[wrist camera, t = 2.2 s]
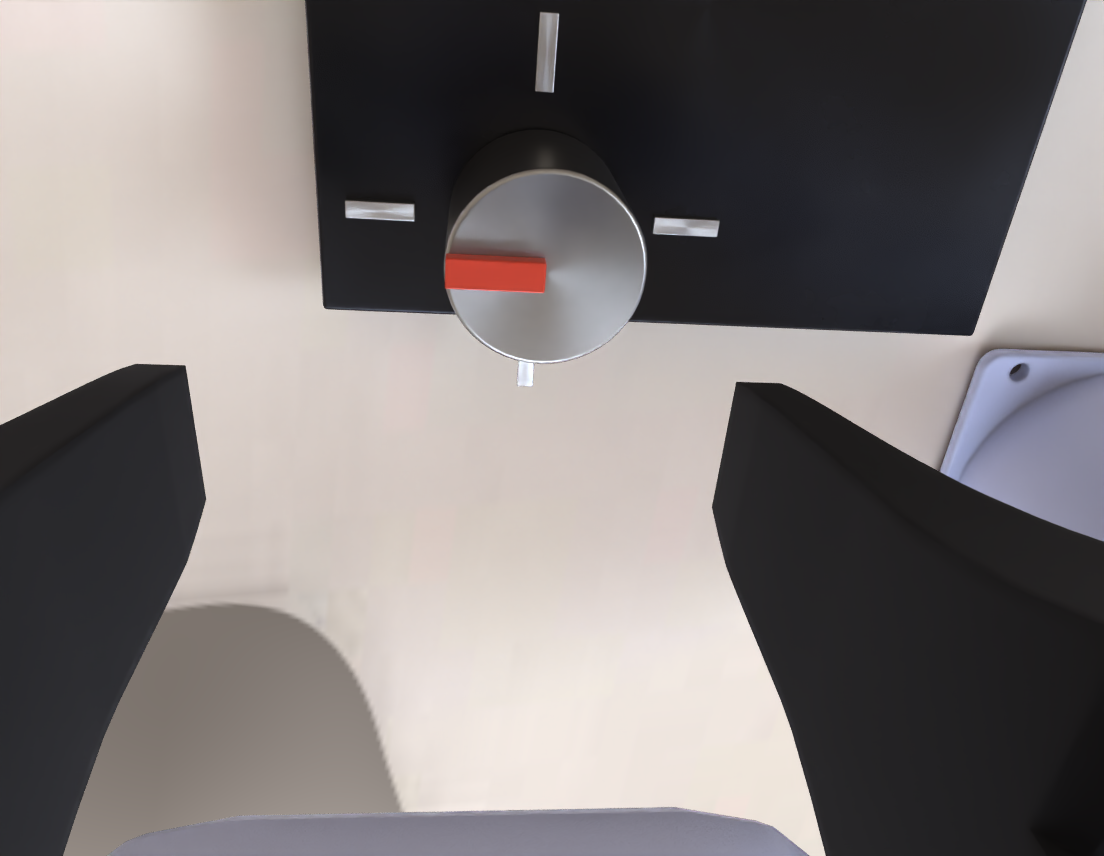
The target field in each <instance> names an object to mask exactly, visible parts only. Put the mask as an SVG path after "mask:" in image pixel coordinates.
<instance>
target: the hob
mask: <svg viewBox="0 0 1104 856" xmlns="http://www.w3.org/2000/svg"><path fill="white" fill-rule="evenodd" d="M1086 1H1087V0H305V8H306V25H307V42H308V59H309V76H310V93H311V110H312V127H313V144H314V161H315V177H316V194H317V211H318V228H319V245H320V262H321V279H322V296H323V306H324V308H325V309H335V310H359V311H384V312H408V313H432V314H456V313H455V311H454V309H453V307H452V305H451V303H450V300H449V297H448V294H447V291H446V289H445V281H444V254H445V245H446V235H447V226H448V216H449V207H450V201H451V196H452V192H453V189H454V186H455V184H456V181H457V179H458V177H459V175H460V173H461V171H462V170H463V169H464V167H465V166H466V164H467V163H468V162H469V160H470V159H471V158H472V157H473V156H474V155H475V154H476V153H477V152H478V151H480V150H481V149H482V148H483V147H484V146H486V145H487V144H489V143H491V142H492V141H494V140H496V139H498V138H500V137H502V136H505V135H507V134H510V133H514V132H517V131H524V130H549V131H555V132H559V133H562V134H566V135H568V136H570V137H573V138H575V139H577V140H578V141H580V142H582V143H583V144H585V145H586V146H588V147H589V148H590V149H591V150H593V151H594V152H595V153H596V154H597V155H598V156H599V157H600V158H601V159H602V160H603V162H604V163H605V165H606V166H607V167H608V169H609V170H610V172H611V174H612V176H613V178H614V179H615V181H616V183H617V185H618V186H619V188H620V190H621V192H622V194H623V195H624V197H625V199H626V201H627V203H628V204H629V206H630V208H631V210H632V212H633V213H634V215H635V217H636V219H637V221H638V223H639V225H640V227H641V230H642V233H643V236H644V239H645V244H646V249H647V260H648V266H647V278H646V283H645V287H644V291H643V294H642V297H641V299H640V302H639V304H638V306H637V308H636V310H635V312H634V313H633V315H632V316H631V318H630V319H629V321H628V322H649V323H673V324H697V325H721V326H745V327H769V328H794V329H818V330H842V331H866V332H890V333H914V334H938V335H962V336H971V335H972V334H973V333H974V330H975V327H976V324H977V321H978V318H979V315H980V312H981V309H982V306H983V303H984V301H985V298H986V295H987V292H988V289H989V286H990V283H991V280H992V277H993V274H994V271H995V268H996V265H997V262H998V259H999V257H1000V254H1001V251H1002V248H1003V245H1004V242H1005V239H1006V236H1007V233H1008V230H1009V227H1010V224H1011V221H1012V218H1013V215H1014V212H1015V210H1016V207H1017V204H1018V201H1019V198H1020V195H1021V192H1022V189H1023V186H1024V183H1025V180H1026V177H1027V174H1028V171H1029V168H1030V166H1031V163H1032V160H1033V157H1034V154H1035V151H1036V148H1037V145H1038V142H1039V139H1040V136H1041V133H1042V130H1043V127H1044V124H1045V121H1046V119H1047V116H1048V113H1049V110H1050V107H1051V104H1052V101H1053V98H1054V95H1055V92H1056V89H1057V86H1058V83H1059V80H1060V77H1061V74H1062V72H1063V69H1064V66H1065V63H1066V60H1067V57H1068V54H1069V51H1070V48H1071V45H1072V42H1073V39H1074V36H1075V33H1076V30H1077V28H1078V25H1079V22H1080V19H1081V16H1082V13H1083V10H1084V7H1085V4H1086ZM533 374H534V363H527V362H523V361H518V372H517V386H533Z"/></svg>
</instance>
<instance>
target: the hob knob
mask: <svg viewBox="0 0 1104 856" xmlns="http://www.w3.org/2000/svg"><path fill="white" fill-rule="evenodd" d="M647 266H648V260H647V249H646V244H645V239H644V236H643V233H642V230H641V227H640V225H639V223H638V221H637V219H636V217H635V215H634V213H633V212H632V210H631V208H630V206H629V204H628V203H627V201H626V199H625V197H624V195H623V194H622V192H621V190H620V188H619V186H618V185H617V183H616V181H615V179H614V178H613V176H612V174H611V172H610V170H609V169H608V167H607V166H606V165H605V163H604V162H603V160H602V159H601V158H600V157H599V156H598V155H597V154H596V153H595V152H594V151H593V150H591V149H590V148H589V147H588V146H586V145H585V144H583V143H582V142H580V141H578V140H577V139H575V138H573V137H570V136H568V135H566V134H562V133H559V132H555V131H549V130H524V131H517V132H514V133H510V134H507V135H505V136H502V137H500V138H498V139H496V140H494V141H492V142H491V143H489V144H487V145H486V146H484V147H483V148H482V149H481V150H480V151H478V152H477V153H476V154H475V155H474V156H473V157H472V158H471V159H470V160H469V162H468V163H467V164H466V166H465V167H464V169H463V170H462V171H461V173H460V175H459V177H458V179H457V181H456V184H455V186H454V189H453V192H452V196H451V201H450V207H449V216H448V226H447V235H446V245H445V254H444V281H445V289H446V291H447V294H448V297H449V300H450V303H451V305H452V307H453V309H454V311H455V313H456V315H457V317H458V318H459V320H460V321H461V323H462V324H463V325H464V327H465V328H466V329H467V330H468V331H469V332H470V333H471V334H472V335H473V336H474V337H475V338H476V339H477V340H478V341H480V342H481V343H482V344H484V345H485V346H487V347H488V348H490V349H491V350H493V351H495V352H497V353H499V354H501V355H503V356H506V357H509V358H511V359H514V360H518V361H523V362H527V363H537V364H550V363H559V362H565V361H569V360H573V359H577V358H579V357H582V356H584V355H587V354H589V353H591V352H593V351H595V350H596V349H598V348H600V347H601V346H603V345H604V344H606V343H607V342H608V341H610V340H611V339H612V338H613V337H614V336H615V335H616V334H617V333H619V332H620V330H621V329H622V328H623V327H624V326H625V325H626V323H627V322H628V321H629V319H630V318H631V316H632V315H633V313H634V312H635V310H636V308H637V306H638V304H639V302H640V299H641V297H642V294H643V291H644V287H645V283H646V278H647Z"/></svg>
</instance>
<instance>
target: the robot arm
mask: <svg viewBox="0 0 1104 856" xmlns="http://www.w3.org/2000/svg"><path fill="white" fill-rule="evenodd" d="M1017 364H1021V367H1020V369H1019V370H1018V371H1017V372H1015V373H1014V374H1011V375H1010V371H1011V370H1012V368H1013V367H1014V366H1016V365H1017ZM205 501H206V496H205V489H204V483H203V476H202V470H201V463H200V457H199V450H198V444H197V437H196V431H195V424H194V418H193V411H192V405H191V399H190V392H189V386H188V379H187V373H186V366H185V365H151V364H134V365H131V366H128V367H125V368H122V369H119V370H117V371H114V372H112V373H109V374H107V375H105V376H102V377H100V378H98V379H96V380H94V381H91V382H89V383H87V384H85V385H83V386H81V387H79V388H77V389H75V390H73V391H71V392H68V393H66V394H64V395H62V396H60V397H58V398H56V399H54V400H52V401H50V402H48V403H46V404H44V405H42V406H39V407H37V408H35V409H33V410H31V411H29V412H27V413H25V414H23V415H21V416H19V417H17V418H15V419H13V420H10V421H8V422H6V423H4V424H2V425H0V856H63V853H64V850H65V847H66V844H67V841H68V838H69V835H70V832H71V829H72V826H73V823H74V820H75V816H76V814H77V810H78V808H79V805H80V802H81V800H82V797H83V794H84V791H85V788H86V785H87V783H88V780H89V777H90V774H91V771H92V769H93V766H94V763H95V760H96V757H97V754H98V752H99V749H100V746H101V743H102V740H103V738H104V735H105V733H106V730H107V728H108V726H109V724H110V721H111V719H112V717H113V714H114V712H115V710H116V708H117V705H118V703H119V701H120V699H121V697H122V695H123V693H124V691H125V689H126V687H127V685H128V683H129V680H130V679H131V677H132V675H133V673H134V670H135V668H136V666H137V664H138V662H139V660H140V658H141V656H142V654H143V652H144V650H145V648H146V646H147V644H148V642H149V640H150V638H151V636H152V633H153V632H154V630H155V628H156V626H157V624H158V622H159V620H160V618H161V616H162V614H163V612H164V610H165V607H166V605H167V603H168V601H169V599H170V597H171V595H172V593H173V591H174V589H175V587H176V585H177V582H178V580H179V578H180V576H181V574H182V572H183V570H184V568H185V565H186V563H187V561H188V558H189V554H190V551H191V548H192V545H193V542H194V539H195V536H196V533H197V529H198V526H199V522H200V519H201V515H202V512H203V508H204V505H205ZM712 509H713V514H714V518H715V523H716V527H717V532H718V536H719V540H720V544H721V548H722V552H723V556H724V560H725V564H726V567H727V570H728V572H729V575H730V578H731V580H732V583H733V585H734V588H735V590H736V593H737V595H738V598H739V600H740V603H741V605H742V607H743V610H744V612H745V615H746V617H747V620H748V622H749V624H750V627H751V629H752V632H753V634H754V637H755V639H756V641H757V644H758V646H759V649H760V651H761V653H762V656H763V658H764V661H765V663H766V665H767V668H768V670H769V673H770V675H771V677H772V680H773V682H774V685H775V687H776V690H777V692H778V694H779V697H780V699H781V702H782V705H783V708H784V710H785V713H786V716H787V719H788V721H789V724H790V727H791V730H792V733H793V737H794V740H795V744H796V747H797V751H798V754H799V758H800V761H801V765H802V768H803V772H804V775H805V779H806V782H807V786H808V789H809V793H810V796H811V800H812V804H813V808H814V811H815V815H816V819H817V823H818V827H819V831H820V835H821V838H822V842H823V846H824V850H825V854H826V856H1104V353H1095V352H1070V351H1045V350H1020V349H995V350H992V351H990V352H988V353H986V354H985V355H984V356H983V357H982V358H981V359H980V360H979V362H978V364H977V366H976V369H975V372H974V374H973V377H972V380H971V383H970V386H969V389H968V392H967V394H966V397H965V400H964V403H963V406H962V409H961V412H960V415H959V417H958V420H957V423H956V426H955V429H954V432H953V435H952V437H951V440H950V443H949V446H948V449H947V452H946V455H945V457H944V460H943V463H942V466H941V469H940V472H939V471H937V470H935V469H933V468H931V467H930V466H928V465H926V464H924V463H922V462H920V461H918V460H916V459H915V458H913V457H911V456H909V455H907V454H906V453H904V452H902V451H900V450H898V449H897V448H895V447H893V446H891V445H890V444H888V443H886V442H885V441H883V440H881V439H879V438H878V437H876V436H874V435H873V434H871V433H869V432H868V431H866V430H864V429H862V428H861V427H859V426H857V425H856V424H854V423H852V422H851V421H849V420H847V419H846V418H844V417H842V416H841V415H839V414H837V413H836V412H834V411H832V410H831V409H829V408H827V407H826V406H824V405H822V404H820V403H819V402H817V401H815V400H813V399H812V398H810V397H808V396H806V395H804V394H803V393H801V392H799V391H797V390H795V389H793V388H790V387H788V386H786V385H783V384H780V383H751V382H736V387H735V392H734V397H733V402H732V407H731V412H730V418H729V423H728V428H727V433H726V438H725V443H724V448H723V454H722V459H721V464H720V469H719V474H718V479H717V484H716V490H715V495H714V500H713V505H712ZM107 856H809V855H808V854H807V853H805V852H804V851H803V850H802V849H800V848H799V847H798V846H797V845H795V844H794V843H793V842H792V841H790V840H789V839H788V838H787V837H785V836H784V835H783V834H782V833H780V832H779V831H778V830H777V829H775V828H774V827H773V826H770V825H767V824H764V823H761V822H758V821H755V820H749V819H743V818H737V817H731V816H725V815H719V814H713V813H707V812H701V811H695V810H689V809H683V808H677V807H661V808H609V809H558V810H506V811H454V812H402V813H355V814H354V813H351V814H299V815H251V816H250V815H249V816H248V815H247V816H234V817H229V818H224V819H219V820H214V821H209V822H203V823H198V824H193V825H188V826H183V827H177V828H173V829H167V830H162V831H157V832H152V833H147V834H144V835H141V836H139V837H136V838H133V839H131V840H128V841H126V842H124V843H123V844H122V845H121V846H119V847H118V848H116V849H115V850H114V851H113V852H111V853H110V854H108V855H107Z"/></svg>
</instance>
